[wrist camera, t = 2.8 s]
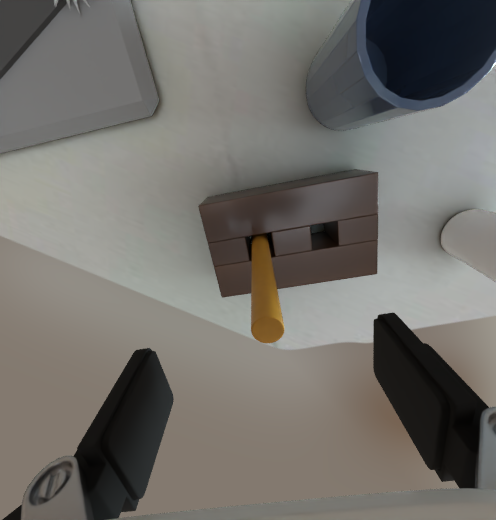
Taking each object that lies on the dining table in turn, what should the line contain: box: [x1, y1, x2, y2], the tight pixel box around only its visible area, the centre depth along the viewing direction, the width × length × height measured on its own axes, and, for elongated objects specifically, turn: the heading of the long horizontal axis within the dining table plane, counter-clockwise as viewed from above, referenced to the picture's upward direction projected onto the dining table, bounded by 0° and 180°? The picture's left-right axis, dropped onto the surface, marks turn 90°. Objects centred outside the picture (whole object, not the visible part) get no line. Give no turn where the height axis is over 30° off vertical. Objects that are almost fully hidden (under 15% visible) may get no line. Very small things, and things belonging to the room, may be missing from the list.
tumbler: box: [306, 0, 496, 131], centre depth 17 cm, size 7×7×12 cm
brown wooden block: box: [199, 169, 378, 297], centre depth 25 cm, size 9×15×5 cm, turn 100°
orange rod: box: [251, 233, 284, 343], centre depth 20 cm, size 2×2×17 cm
